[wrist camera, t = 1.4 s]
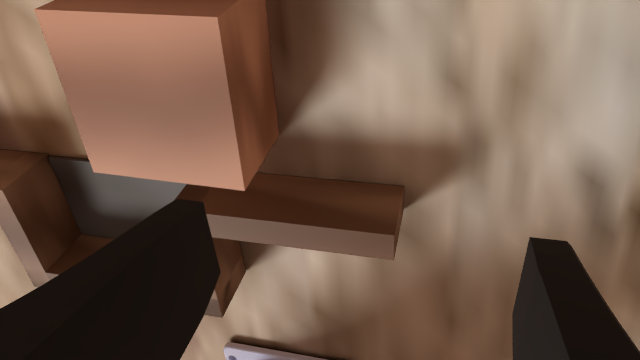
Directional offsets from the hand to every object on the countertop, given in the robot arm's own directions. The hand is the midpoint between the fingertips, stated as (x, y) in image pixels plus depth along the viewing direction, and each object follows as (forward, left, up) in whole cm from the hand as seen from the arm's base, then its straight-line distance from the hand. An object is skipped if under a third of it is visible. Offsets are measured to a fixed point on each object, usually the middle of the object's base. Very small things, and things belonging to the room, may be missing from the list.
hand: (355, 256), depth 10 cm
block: (0, +8, -10) cm, 12 cm away
